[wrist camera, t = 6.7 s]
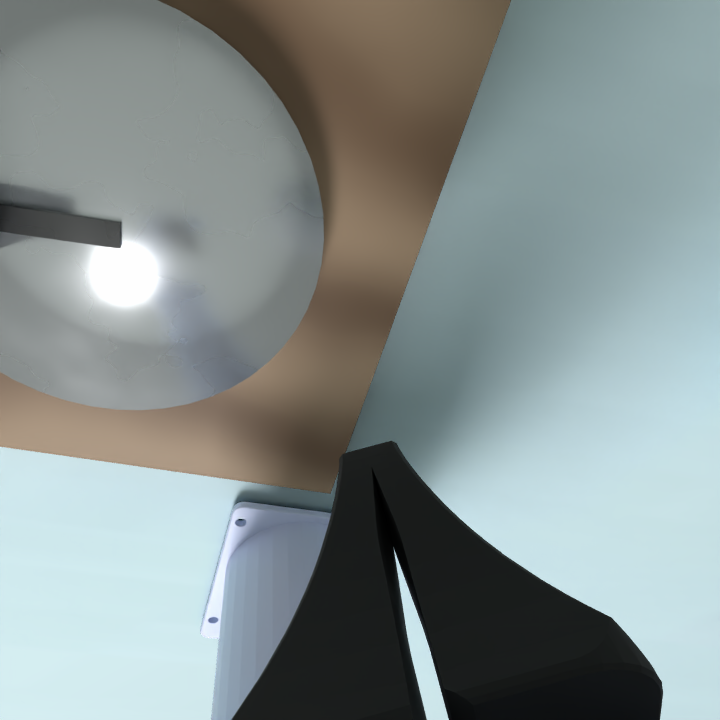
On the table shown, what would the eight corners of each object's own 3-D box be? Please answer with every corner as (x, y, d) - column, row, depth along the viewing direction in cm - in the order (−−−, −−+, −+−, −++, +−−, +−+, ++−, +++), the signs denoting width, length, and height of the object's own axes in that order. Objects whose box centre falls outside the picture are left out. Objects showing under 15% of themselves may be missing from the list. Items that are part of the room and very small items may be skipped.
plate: (327, 476, 25) (330, 495, 24) (-180, 399, 20) (-208, 419, 19) (498, -2, 17) (515, -8, 16) (-284, -343, 12) (-346, -389, 11)
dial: (353, 45, 16) (377, 38, 12) (293, 407, 22) (297, 474, 18) (-155, -77, 13) (-317, -133, 10) (-71, 375, 19) (-153, 446, 15)
